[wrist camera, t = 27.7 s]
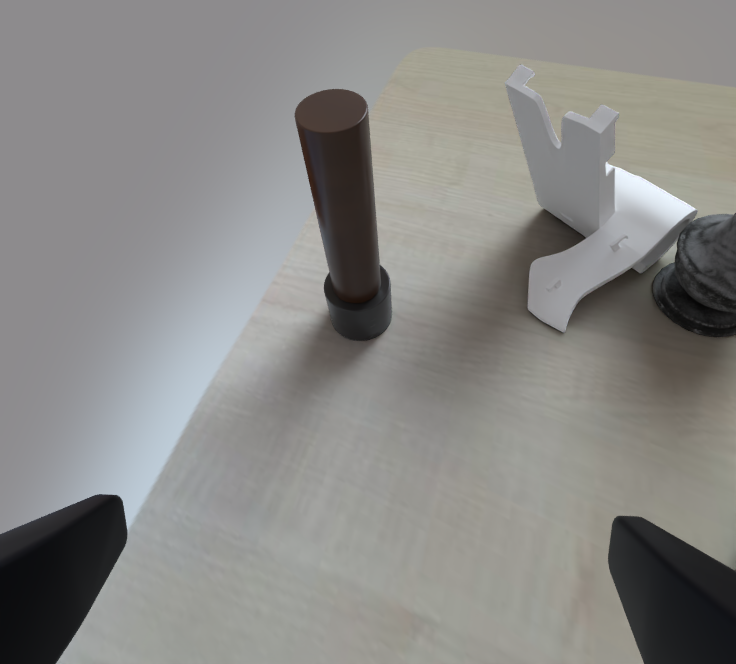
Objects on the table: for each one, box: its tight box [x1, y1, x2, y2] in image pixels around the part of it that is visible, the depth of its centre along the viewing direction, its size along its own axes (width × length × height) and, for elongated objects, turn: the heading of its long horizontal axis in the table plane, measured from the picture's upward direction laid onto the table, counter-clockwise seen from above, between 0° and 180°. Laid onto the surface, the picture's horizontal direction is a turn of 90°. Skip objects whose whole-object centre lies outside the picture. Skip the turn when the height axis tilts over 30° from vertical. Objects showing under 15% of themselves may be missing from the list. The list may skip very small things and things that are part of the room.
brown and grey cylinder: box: [295, 89, 392, 341], centre depth 22 cm, size 4×4×13 cm
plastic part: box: [505, 64, 697, 332], centre depth 23 cm, size 8×10×12 cm
